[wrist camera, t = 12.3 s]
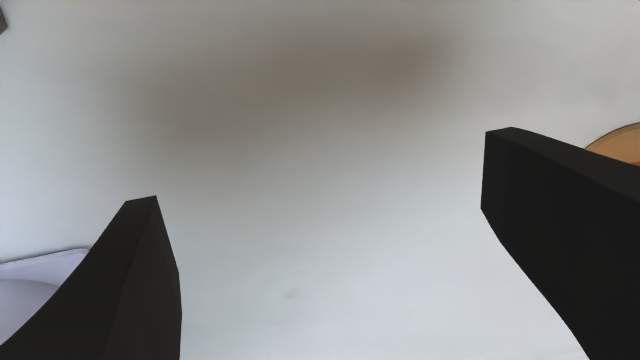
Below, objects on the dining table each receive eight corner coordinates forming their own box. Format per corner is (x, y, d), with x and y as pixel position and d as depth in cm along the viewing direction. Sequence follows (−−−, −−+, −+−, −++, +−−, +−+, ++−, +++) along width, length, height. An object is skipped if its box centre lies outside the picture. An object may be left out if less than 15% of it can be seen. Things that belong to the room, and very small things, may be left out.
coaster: (679, 257, 30) (684, 262, 30) (526, 293, 29) (530, 298, 29) (726, 105, 26) (733, 108, 25) (546, 141, 24) (551, 145, 24)
